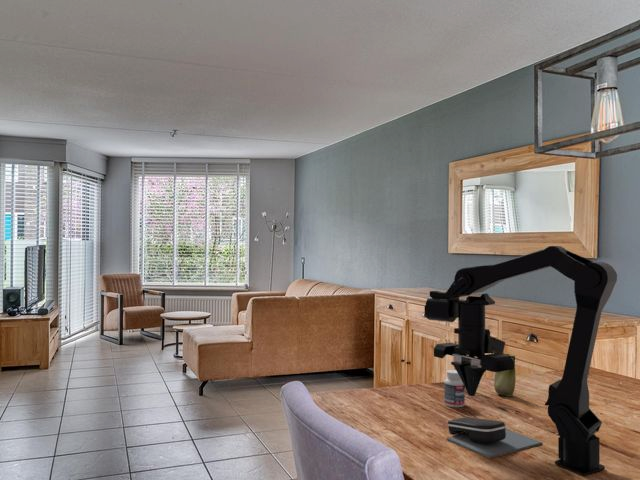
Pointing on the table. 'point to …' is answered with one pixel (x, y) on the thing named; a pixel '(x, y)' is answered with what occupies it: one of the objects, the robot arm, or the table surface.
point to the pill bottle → (454, 390)
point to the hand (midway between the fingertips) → (471, 395)
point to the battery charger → (478, 429)
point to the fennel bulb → (505, 381)
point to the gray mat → (496, 444)
